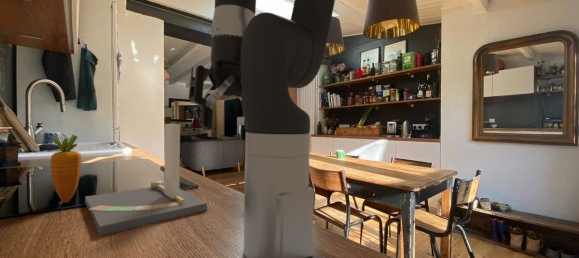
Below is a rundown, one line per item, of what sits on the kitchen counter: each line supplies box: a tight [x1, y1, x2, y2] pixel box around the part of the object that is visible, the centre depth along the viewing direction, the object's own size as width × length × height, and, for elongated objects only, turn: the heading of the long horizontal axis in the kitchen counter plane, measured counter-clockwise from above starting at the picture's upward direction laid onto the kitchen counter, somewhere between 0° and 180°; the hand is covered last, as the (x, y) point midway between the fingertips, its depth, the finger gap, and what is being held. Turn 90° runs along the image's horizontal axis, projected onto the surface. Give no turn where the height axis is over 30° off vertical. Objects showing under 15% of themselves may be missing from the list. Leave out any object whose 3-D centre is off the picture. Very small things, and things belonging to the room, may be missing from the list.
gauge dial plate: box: [85, 186, 208, 237], centre depth 54 cm, size 21×18×2 cm
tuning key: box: [150, 123, 184, 203], centre depth 58 cm, size 18×3×16 cm, turn 44°
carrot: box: [50, 134, 82, 204], centre depth 55 cm, size 5×5×15 cm
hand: (229, 129), depth 46 cm, fingers open, 8 cm apart
